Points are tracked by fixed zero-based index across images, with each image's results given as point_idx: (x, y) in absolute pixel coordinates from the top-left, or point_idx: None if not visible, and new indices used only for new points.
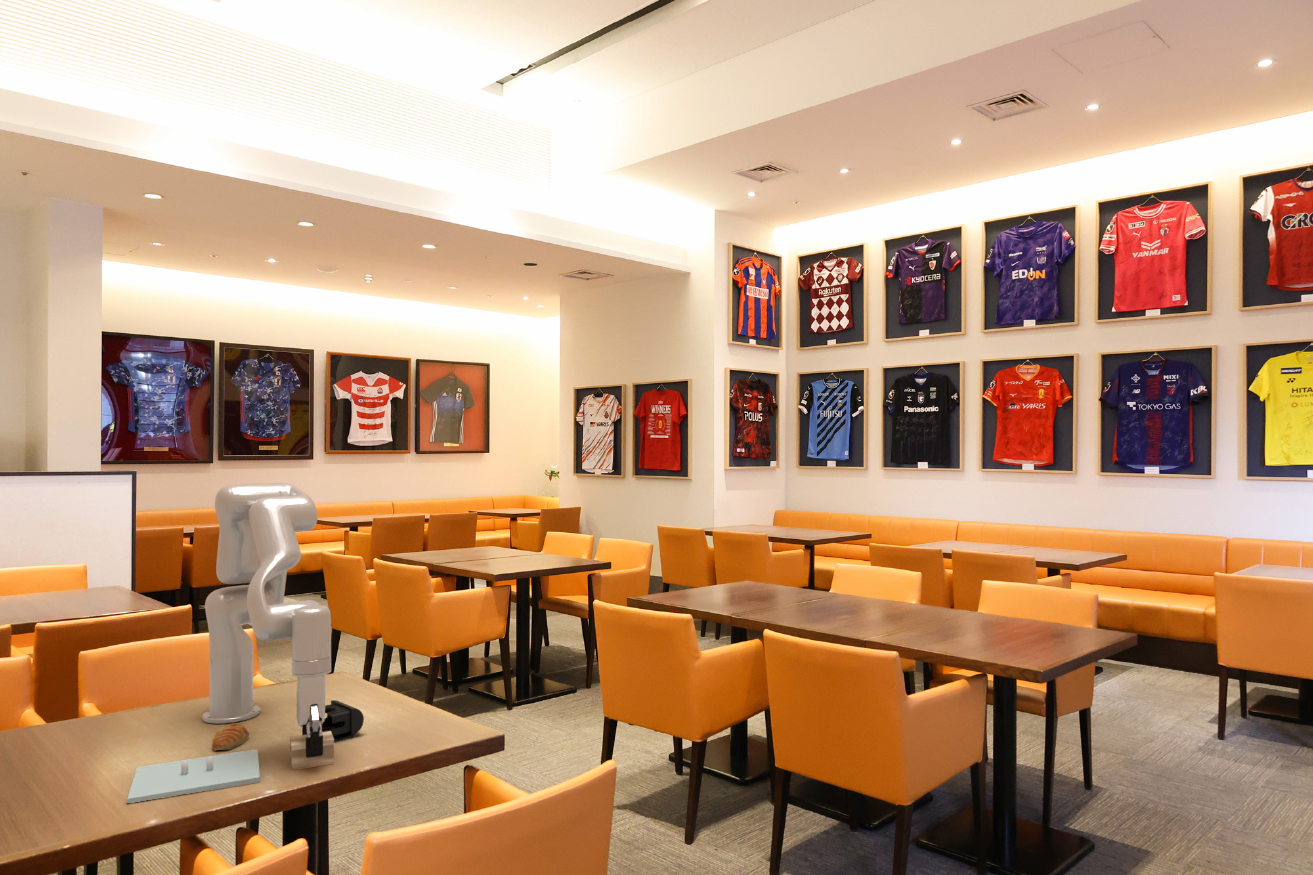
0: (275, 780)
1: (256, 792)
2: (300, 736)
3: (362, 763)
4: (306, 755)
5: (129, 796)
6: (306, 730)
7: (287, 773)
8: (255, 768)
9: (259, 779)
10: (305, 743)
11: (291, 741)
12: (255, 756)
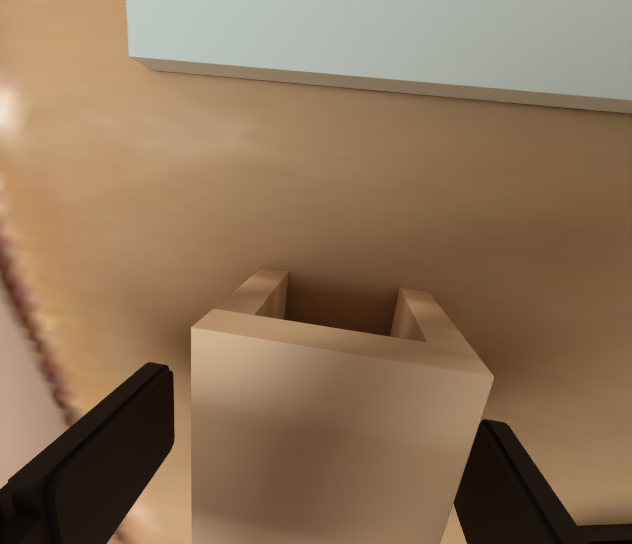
0: (145, 161)
1: (3, 33)
2: (430, 451)
3: (187, 513)
4: (142, 368)
5: None
6: (520, 542)
7: (223, 237)
8: (320, 46)
9: (142, 62)
10: (197, 428)
11: (327, 353)
12: (621, 77)
